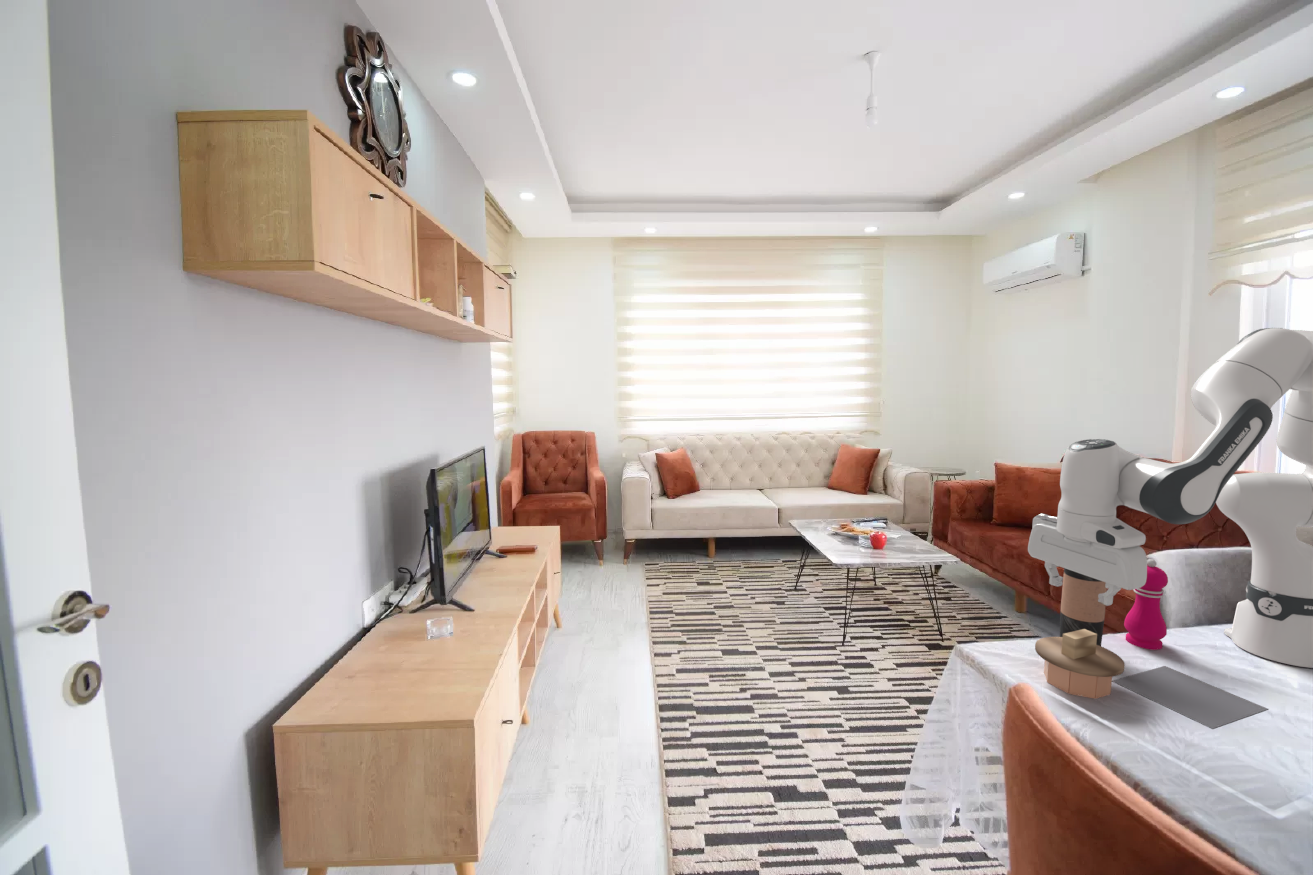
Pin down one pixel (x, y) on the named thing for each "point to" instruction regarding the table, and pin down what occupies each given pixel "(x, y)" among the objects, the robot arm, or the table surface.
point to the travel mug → (1082, 604)
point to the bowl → (1077, 682)
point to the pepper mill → (1148, 611)
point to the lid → (1080, 654)
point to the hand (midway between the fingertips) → (1079, 594)
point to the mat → (1190, 696)
